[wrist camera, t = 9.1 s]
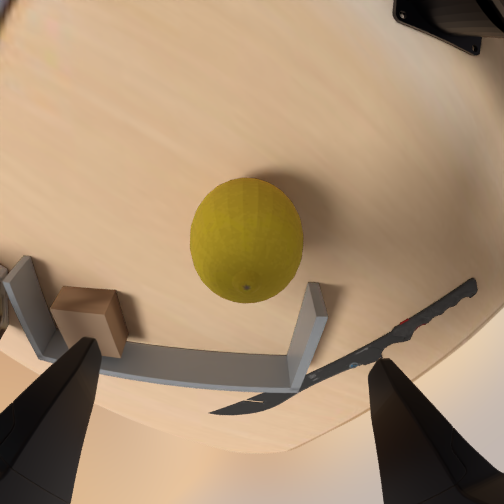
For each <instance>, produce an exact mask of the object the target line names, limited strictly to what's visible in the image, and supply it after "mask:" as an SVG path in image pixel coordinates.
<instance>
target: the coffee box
mask: <svg viewBox="0 0 504 504" xmlns="http://www.w3.org/2000/svg"><path fill="white" fill-rule="evenodd" d="M7 275H8V270H7V268H5V267H4V266H2V265H0V339H1V337H2V336H3V334H4V332H5V331H6V329H7V327H8V325H9V321H8V294H7V292H6V289H5V287H4V284H3V282H2V281H3V280H4V279H5V278H6V276H7Z"/></svg>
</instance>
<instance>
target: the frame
mask: <svg viewBox="0 0 504 504" xmlns="http://www.w3.org/2000/svg"><path fill="white" fill-rule="evenodd" d="M2 282H3V284H4V287H5V289H6V292H7V294H8V297H9V299H10V301H11V304H12V306H13V308H14V311H15V313H16V315H17V317H18V319H19V321H20V324H21V326H22V328H23V330H24V332H25V334H26V336H27V338H28V340H29V342H30V344H31V346H32V347H33V349H34V351H35V353H36V355H37V357H38V359H40V360H43V361H47V362H51V363H54V362H55V361H56V360H58V359H59V358H60V357H61V356H62V355H63V354H64V353H65V352H66V351H67V350H69V348H68V346H67V344H66V342H65V340H64V338H63V336H62V334H61V332H60V330H59V329H56V327H55V325H54V322H53V320H52V317H51V315H50V312H49V310H48V307H47V304H46V302H45V299H44V296H43V293H42V291H41V288H40V285H39V282H38V279H37V276H36V273H35V270H34V266H33V263H32V260H31V256H23V257H22V258H21V259H20V260H19V262H18V263H17V264H16V265H15V266H14V268H13V269H12V270H11V271H10V273H9V274H8V275H7V276H6V278H5V279H4V280H3V281H2ZM327 319H328V314H327V310H326V307H325V303H324V300H323V296H322V293H321V289H320V286H319V283H311V282H308V284H307V288H306V292H305V295H304V299H303V302H302V306H301V309H300V313H299V316H298V320H297V323H296V327H295V330H294V333H293V337H292V340H291V343H290V347H289V350H288V353H287V356H284V355H258V354H240V353H225V352H213V351H201V350H191V349H181V348H172V347H163V346H155V345H147V344H140V343H133V342H126V344H125V347H124V350H123V353H122V356H121V358H115V357H107V356H102V362H101V367H100V372H99V374H103V375H108V376H113V377H119V378H124V379H130V380H136V381H143V382H149V383H156V384H164V385H172V386H180V387H189V388H200V389H211V390H224V391H241V392H268V393H298V391H299V389H300V387H301V384H302V382H303V380H304V377H305V375H306V373H307V370H308V368H309V365H310V363H311V360H312V358H313V355H314V353H315V350H316V348H317V345H318V343H319V340H320V338H321V335H322V332H323V330H324V327H325V324H326V322H327Z"/></svg>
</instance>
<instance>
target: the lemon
mask: <svg viewBox="0 0 504 504" xmlns="http://www.w3.org/2000/svg"><path fill="white" fill-rule="evenodd" d="M190 250H191V255H192V259H193V263H194V266H195V269H196V271H197V273H198V275H199V276H200V278H201V280H202V281H203V283H204V284H205V285H206V286H207V287H208V288H209V289H210V290H211V291H212V292H214V293H215V294H217V295H219V296H220V297H222V298H224V299H227V300H230V301H233V302H238V303H256V302H260V301H264V300H267V299H269V298H271V297H273V296H275V295H277V294H278V293H279V292H281V291H282V290H283V289H284V288H285V287H286V286H287V285H288V284H289V283H290V281H291V280H292V279H293V278H294V276H295V274H296V272H297V269H298V267H299V265H300V262H301V258H302V250H303V231H302V226H301V221H300V217H299V215H298V213H297V211H296V209H295V207H294V205H293V203H292V202H291V200H290V199H289V198H288V197H287V196H286V195H285V194H284V193H283V192H282V191H281V190H280V189H278V188H277V187H275V186H274V185H272V184H270V183H269V182H266V181H263V180H259V179H256V178H239V179H234V180H230V181H228V182H225V183H223V184H221V185H219V186H217V187H216V188H215V189H214V190H212V191H211V192H210V193H209V194H208V195H207V196H206V197H205V198H204V200H203V201H202V203H201V204H200V205H199V207H198V209H197V211H196V213H195V216H194V219H193V222H192V225H191V232H190Z"/></svg>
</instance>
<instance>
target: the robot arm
mask: <svg viewBox="0 0 504 504" xmlns="http://www.w3.org/2000/svg"><path fill="white" fill-rule="evenodd" d="M400 12H402V13H403V14H404V18H401V17H400V15H399V13H400ZM393 17H394V19H395V20H396V21H397V22H399V23H402V24H404V25H407V26H410V27H412V28H415V29H417V30H420V31H422V32H424V33H427V34H429V35H431V36H434V37H436V38H438V39H440V40H442V41H444V42H447V43H449V44H451V45H453V46H455V47H457V48H459V49H461V50H463V51H465V52H467V53H468V54H470V55H479V54H480V49H481V39H482V37H496V38H504V0H394V3H393ZM472 45H473V47H474V51H473V49H472ZM101 362H102V354H101V351H100V348H99V345H98V342H97V340H96V339H95V338H93V337H88V336H84V337H82V338H81V339H80V340H79V341H77V342H76V343H75V344H74V345H73V346H72V347H71V348H70V349H69V350H67V351H66V352H65V353H64V354H63V355H62V356H61V357H60V358H59V359H58V360H56V361H55V362H54V363H53V364H52V365H51V366H50V367H49V368H48V369H47V370H46V371H45V372H44V373H42V374H41V375H40V376H39V377H38V378H37V379H36V380H35V381H34V382H33V383H32V384H31V385H30V386H29V387H28V388H27V389H26V390H25V391H23V392H22V393H21V394H20V395H19V396H18V397H17V398H16V399H15V400H14V401H13V403H11V404H10V405H9V406H8V407H7V408H6V409H5V410H4V411H3V412H2V413H0V504H70V503H71V498H72V493H73V488H74V482H75V478H76V473H77V468H78V463H79V459H80V455H81V450H82V446H83V442H84V438H85V434H86V430H87V426H88V423H89V419H90V415H91V412H92V408H93V404H94V400H95V395H96V389H97V383H98V377H99V372H100V367H101ZM368 384H369V396H370V410H371V419H372V426H373V432H374V438H375V443H376V450H377V456H378V463H379V470H380V477H381V484H382V492H383V501H384V504H504V473H502V472H500V471H498V470H497V469H496V468H494V467H493V466H492V465H491V464H490V463H489V462H488V461H487V460H486V459H484V457H482V456H481V455H480V454H479V453H478V452H477V451H476V450H475V449H474V448H473V447H472V446H471V445H470V444H469V443H468V442H467V441H466V440H465V439H464V438H463V437H462V436H461V435H460V434H459V433H458V432H457V431H456V429H455V428H453V426H452V425H451V424H450V423H449V422H448V421H447V420H446V418H445V417H444V416H443V415H442V414H441V413H440V412H439V411H438V410H437V409H436V407H435V406H434V405H433V404H432V403H431V402H430V401H429V400H428V399H427V398H426V397H425V396H424V395H423V393H422V392H421V391H420V390H419V389H418V388H417V387H416V386H415V385H414V384H413V382H412V381H411V380H410V379H409V378H408V377H407V376H406V375H405V374H404V373H403V372H402V371H401V370H400V369H399V367H398V366H397V365H396V364H395V363H394V362H393V361H392V360H391V359H389V358H383V359H378V360H377V361H376V363H375V364H374V366H373V368H372V369H371V371H370V372H369V375H368Z"/></svg>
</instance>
